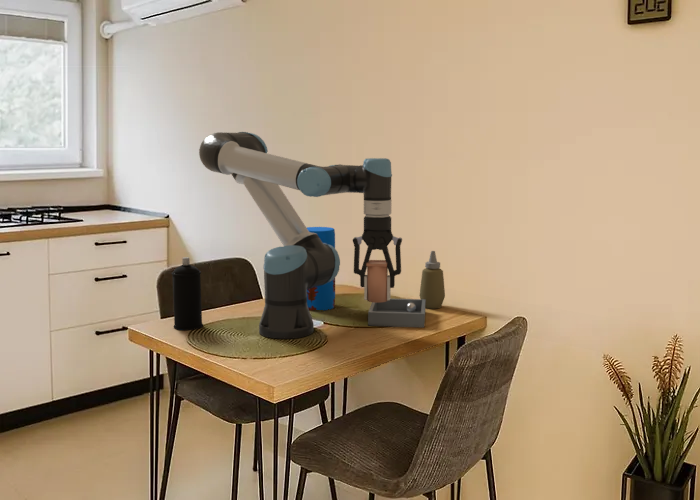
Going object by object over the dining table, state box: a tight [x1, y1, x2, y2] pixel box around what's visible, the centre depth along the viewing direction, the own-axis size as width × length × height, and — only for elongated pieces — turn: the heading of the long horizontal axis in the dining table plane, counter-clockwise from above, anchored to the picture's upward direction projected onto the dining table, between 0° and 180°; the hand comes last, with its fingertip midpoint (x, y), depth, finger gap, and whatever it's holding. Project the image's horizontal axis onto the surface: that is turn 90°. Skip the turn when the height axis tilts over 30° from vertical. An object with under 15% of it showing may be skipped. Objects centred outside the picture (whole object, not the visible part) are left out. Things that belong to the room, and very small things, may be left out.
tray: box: [367, 298, 426, 328], centre depth 215 cm, size 16×18×4 cm
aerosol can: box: [170, 256, 204, 331], centre depth 205 cm, size 8×8×20 cm
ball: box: [406, 303, 416, 312], centre depth 220 cm, size 3×3×3 cm
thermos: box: [306, 226, 336, 311], centre depth 228 cm, size 11×11×25 cm
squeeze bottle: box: [419, 250, 446, 310], centre depth 228 cm, size 8×8×18 cm
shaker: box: [366, 259, 389, 303], centre depth 198 cm, size 6×6×11 cm
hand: (377, 298), depth 199 cm, fingers closed on shaker, 6 cm apart
